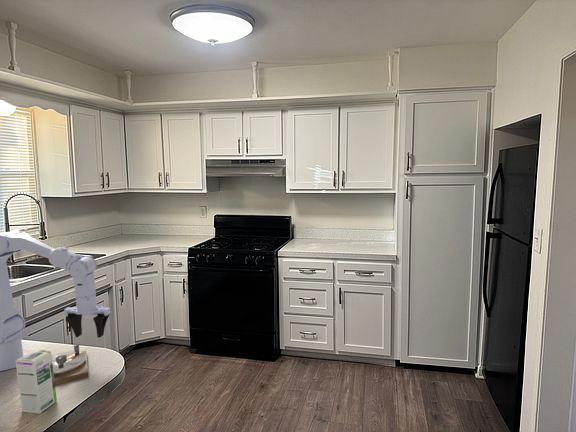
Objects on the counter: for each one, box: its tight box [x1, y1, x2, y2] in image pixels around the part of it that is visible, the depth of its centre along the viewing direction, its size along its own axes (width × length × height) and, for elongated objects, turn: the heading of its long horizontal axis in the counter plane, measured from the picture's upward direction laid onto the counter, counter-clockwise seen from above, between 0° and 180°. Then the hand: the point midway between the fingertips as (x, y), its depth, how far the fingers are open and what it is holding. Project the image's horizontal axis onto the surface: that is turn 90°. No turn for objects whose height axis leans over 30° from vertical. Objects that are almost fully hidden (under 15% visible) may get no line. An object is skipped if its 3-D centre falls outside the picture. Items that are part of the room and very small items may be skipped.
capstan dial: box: [52, 343, 85, 376], centre depth 121 cm, size 13×13×4 cm
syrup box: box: [15, 349, 58, 415], centre depth 101 cm, size 6×6×14 cm
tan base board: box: [54, 349, 89, 386], centre depth 121 cm, size 17×14×2 cm
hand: (89, 336), depth 124 cm, fingers open, 7 cm apart
